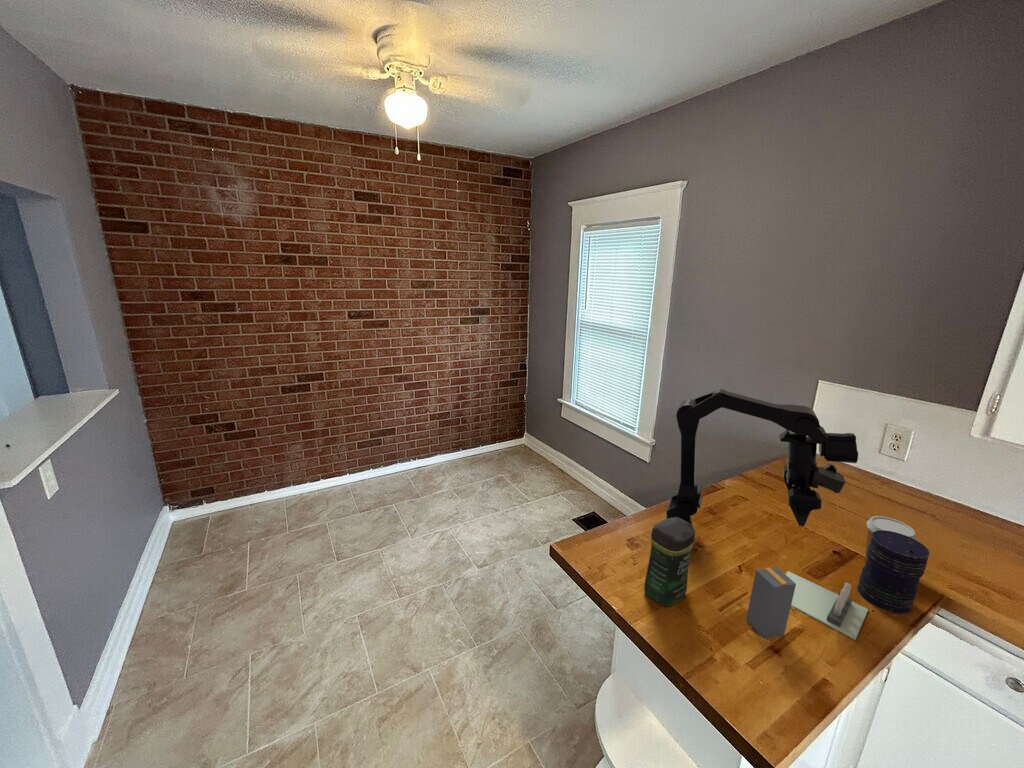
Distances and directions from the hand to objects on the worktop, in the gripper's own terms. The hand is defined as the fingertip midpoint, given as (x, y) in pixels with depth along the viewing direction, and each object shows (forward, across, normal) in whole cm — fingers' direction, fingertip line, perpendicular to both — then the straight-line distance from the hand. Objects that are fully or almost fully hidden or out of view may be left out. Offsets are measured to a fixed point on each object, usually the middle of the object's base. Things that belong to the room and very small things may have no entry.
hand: (799, 516), depth 105 cm
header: (+14, -12, -2) cm, 19 cm away
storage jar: (+17, -3, -16) cm, 24 cm away
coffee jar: (+11, -26, +28) cm, 40 cm away
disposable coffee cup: (+17, +11, -19) cm, 28 cm away
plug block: (+13, -26, +8) cm, 31 cm away
